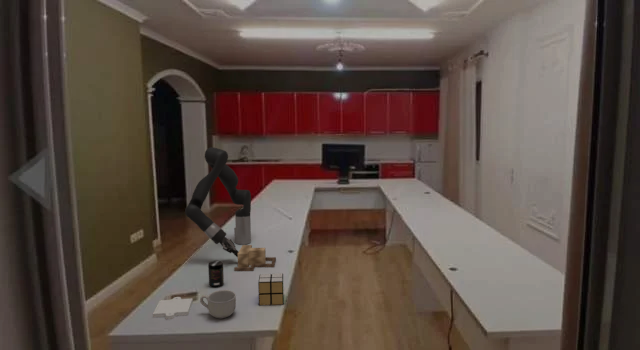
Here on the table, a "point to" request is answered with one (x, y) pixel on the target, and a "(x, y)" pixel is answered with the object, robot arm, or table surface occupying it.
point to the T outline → (257, 265)
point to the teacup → (220, 303)
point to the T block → (251, 256)
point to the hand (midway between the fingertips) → (239, 255)
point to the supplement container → (216, 274)
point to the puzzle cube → (271, 289)
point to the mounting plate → (173, 308)
